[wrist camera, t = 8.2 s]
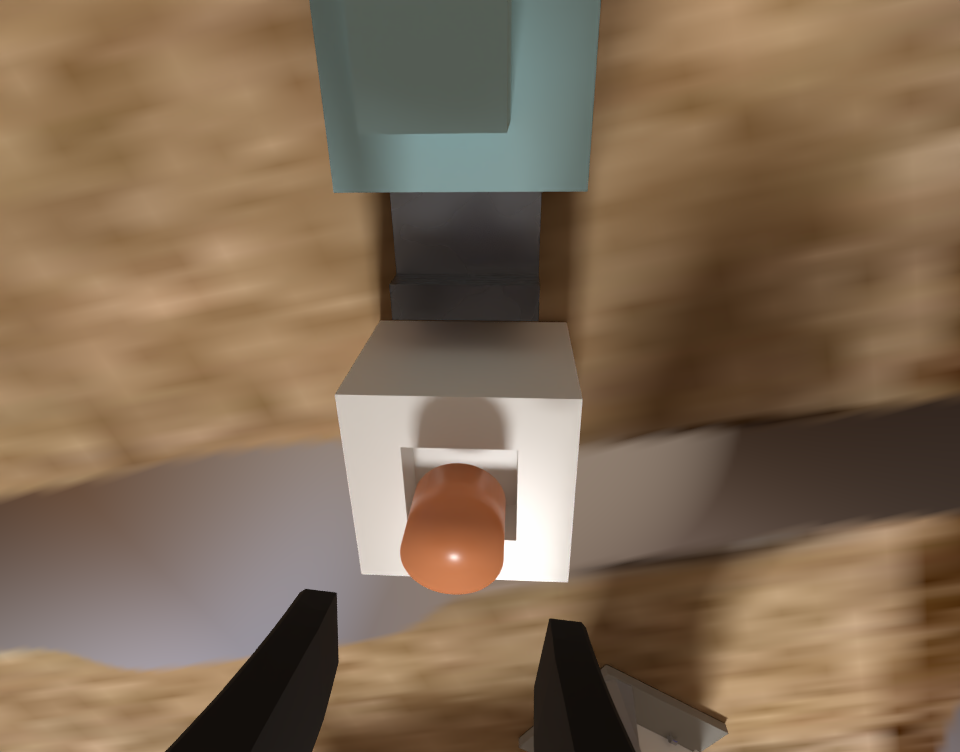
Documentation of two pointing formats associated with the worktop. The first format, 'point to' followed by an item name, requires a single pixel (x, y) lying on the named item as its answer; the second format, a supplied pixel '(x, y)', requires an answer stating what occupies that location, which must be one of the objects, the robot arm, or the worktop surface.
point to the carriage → (457, 93)
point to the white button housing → (464, 432)
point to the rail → (466, 256)
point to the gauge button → (455, 530)
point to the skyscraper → (653, 718)
